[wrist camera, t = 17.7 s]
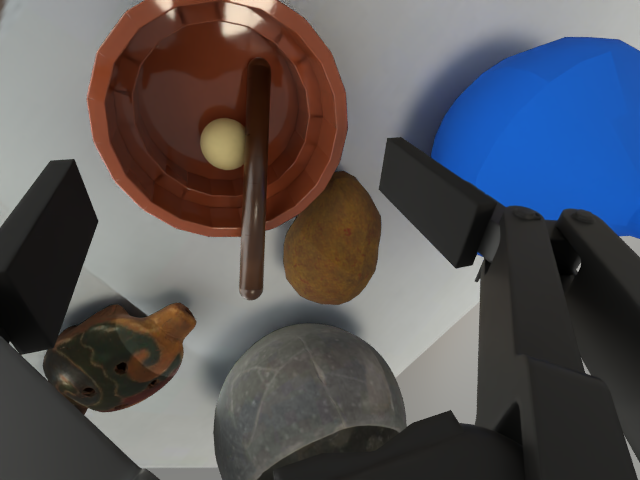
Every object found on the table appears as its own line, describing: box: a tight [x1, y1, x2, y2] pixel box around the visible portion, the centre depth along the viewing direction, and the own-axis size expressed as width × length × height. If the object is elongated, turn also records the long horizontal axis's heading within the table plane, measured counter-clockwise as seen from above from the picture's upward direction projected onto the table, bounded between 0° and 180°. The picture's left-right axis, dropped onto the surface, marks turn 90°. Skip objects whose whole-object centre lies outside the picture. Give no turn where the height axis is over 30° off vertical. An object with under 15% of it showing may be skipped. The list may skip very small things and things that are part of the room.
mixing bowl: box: [87, 0, 348, 237], centre depth 23 cm, size 15×15×6 cm
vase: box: [431, 37, 640, 257], centre depth 27 cm, size 18×18×19 cm
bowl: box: [213, 323, 407, 480], centre depth 38 cm, size 20×20×15 cm
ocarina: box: [43, 303, 196, 415], centre depth 31 cm, size 10×15×8 cm, turn 117°
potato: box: [283, 171, 381, 305], centre depth 31 cm, size 8×12×9 cm
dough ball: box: [200, 118, 245, 170], centre depth 25 cm, size 4×4×4 cm
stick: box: [239, 58, 271, 300], centre depth 24 cm, size 2×2×17 cm
